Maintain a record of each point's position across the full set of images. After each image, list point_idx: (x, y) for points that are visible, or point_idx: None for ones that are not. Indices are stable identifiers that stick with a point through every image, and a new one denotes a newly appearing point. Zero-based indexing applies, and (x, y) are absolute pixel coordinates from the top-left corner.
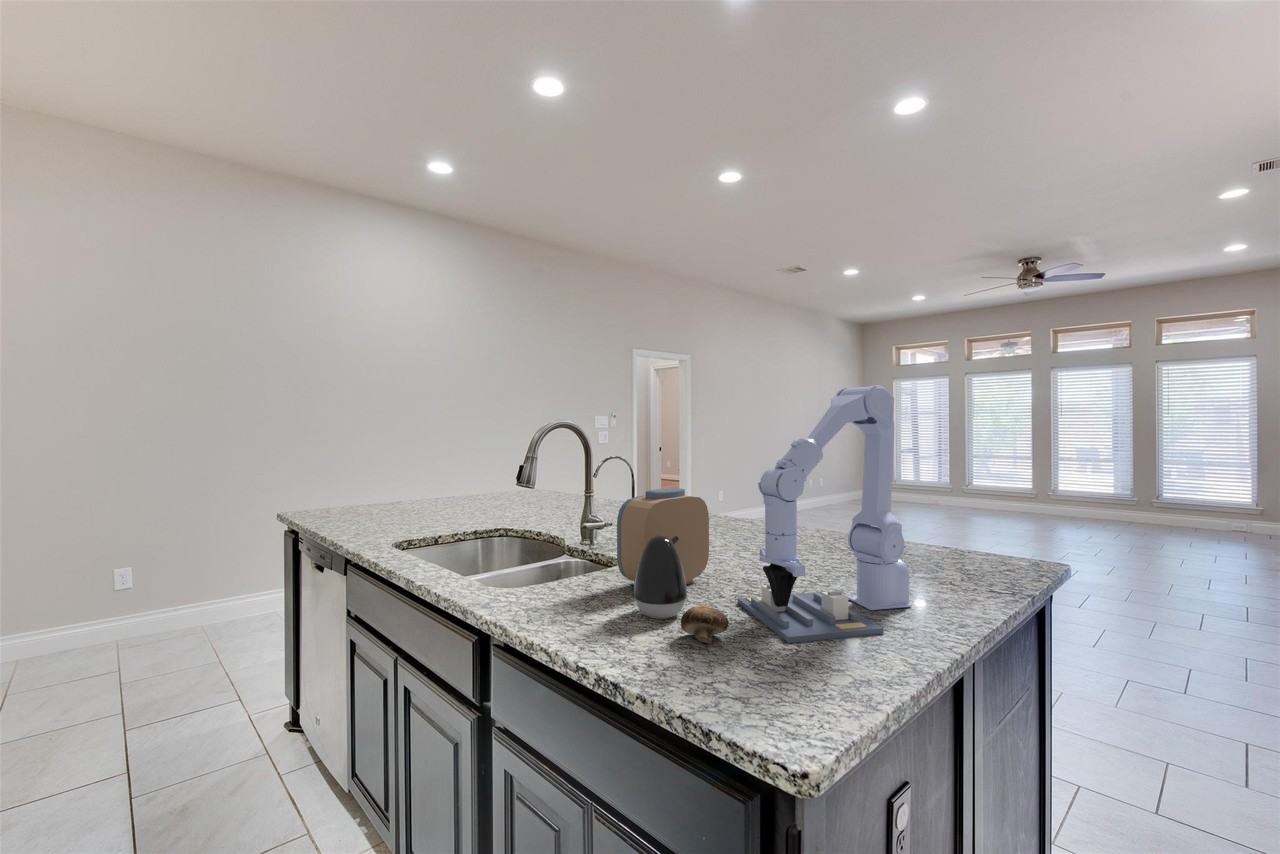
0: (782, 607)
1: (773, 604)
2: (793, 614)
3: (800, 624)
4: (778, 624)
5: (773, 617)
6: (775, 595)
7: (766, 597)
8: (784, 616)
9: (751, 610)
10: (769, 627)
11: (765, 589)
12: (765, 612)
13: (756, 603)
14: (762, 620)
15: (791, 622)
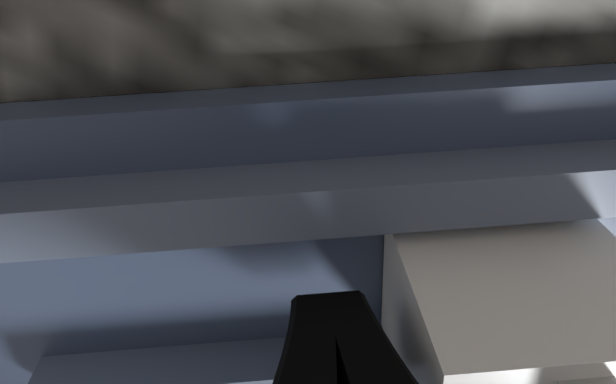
0: (387, 328)
1: (398, 284)
2: (267, 348)
3: (72, 325)
4: (66, 174)
5: (177, 183)
6: (298, 376)
7: (518, 282)
8: (272, 282)
9: (549, 79)
10: (133, 96)
11: (591, 345)
12: (356, 165)
13: (586, 162)
14: (282, 90)
15: (122, 284)
